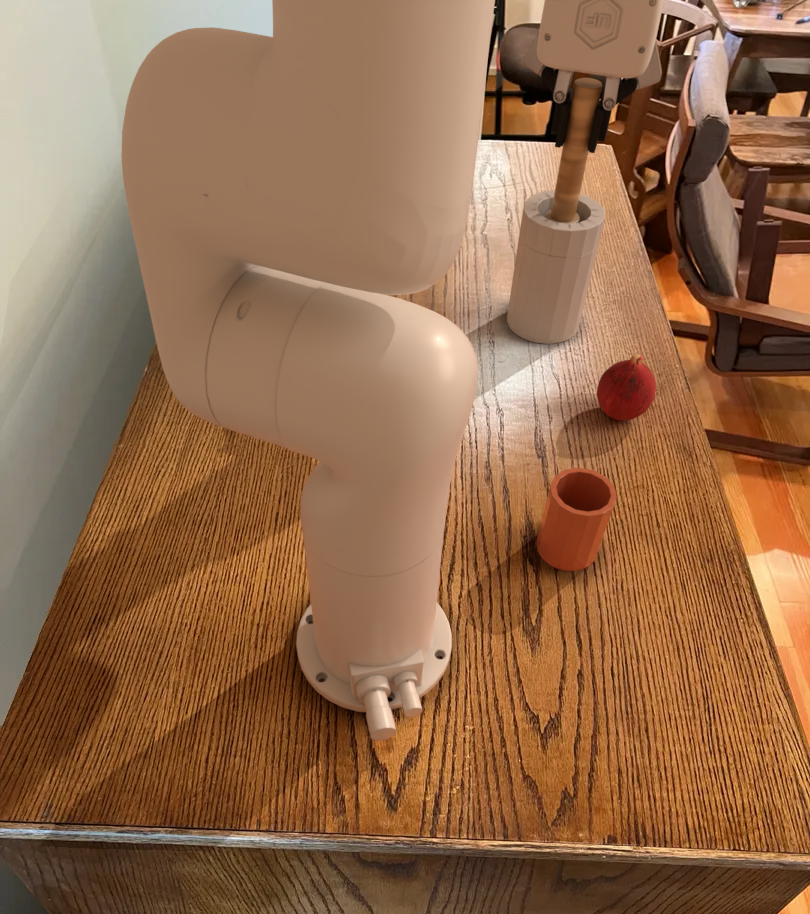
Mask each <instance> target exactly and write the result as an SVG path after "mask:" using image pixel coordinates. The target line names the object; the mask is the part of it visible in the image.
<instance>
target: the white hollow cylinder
mask: <svg viewBox="0 0 810 914" xmlns="http://www.w3.org/2000/svg"><path fill="white" fill-rule="evenodd" d="M554 193H555V189H553V190H543V191H539V192H537V193H535V194H532V195H530V197H528V198H527V199H526V200H525V201H524V203H523V208H522V215H521V221H520V227H519V228H520V229H519V235H518V241H517V248H516V254H515V261H514V268H513V275H512V279H511V280H512V282H511V287H510V295H509V301H508V309H507V313H506V323H507V325H508V327H509V329H510V330H511V332H513V333H514V334H515V335H517V336H518V337H520V338H522V339H523V340H526V341H529V342H533V343H536V344H544V345H545V344H546V345H547V344H549V345H551V344H559V343H563V342H566V341H568V340H570V339H572V338H573V337H575V335H576V334H577V333H578V330H579V327H580V325H581V320H582V316H583V311H584V307H585V303H586V300H587V295H588V291H589V287H590V282H591V278H592V274H593V270H594V265H595V261H596V258H597V253H598V248H599V244H600V240H601V236H602V233H603V228H604V224H605V220H606V210H605V208H604V207H603V206H602V205H601V204H600V202H598V201H597V200H595V199H593V198H591V197H590V196H588V195H585V194H582V193H580V195H579V200H578V205H577V210H576V213H577V214H578V215H579V218H580V219H579V223H571V224H566V223H557V222H554V221H551V220H548V219H547V218H545V217H546V213H547V212H548V211H549V210H551V209H552V204H553V199H554Z"/></svg>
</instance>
